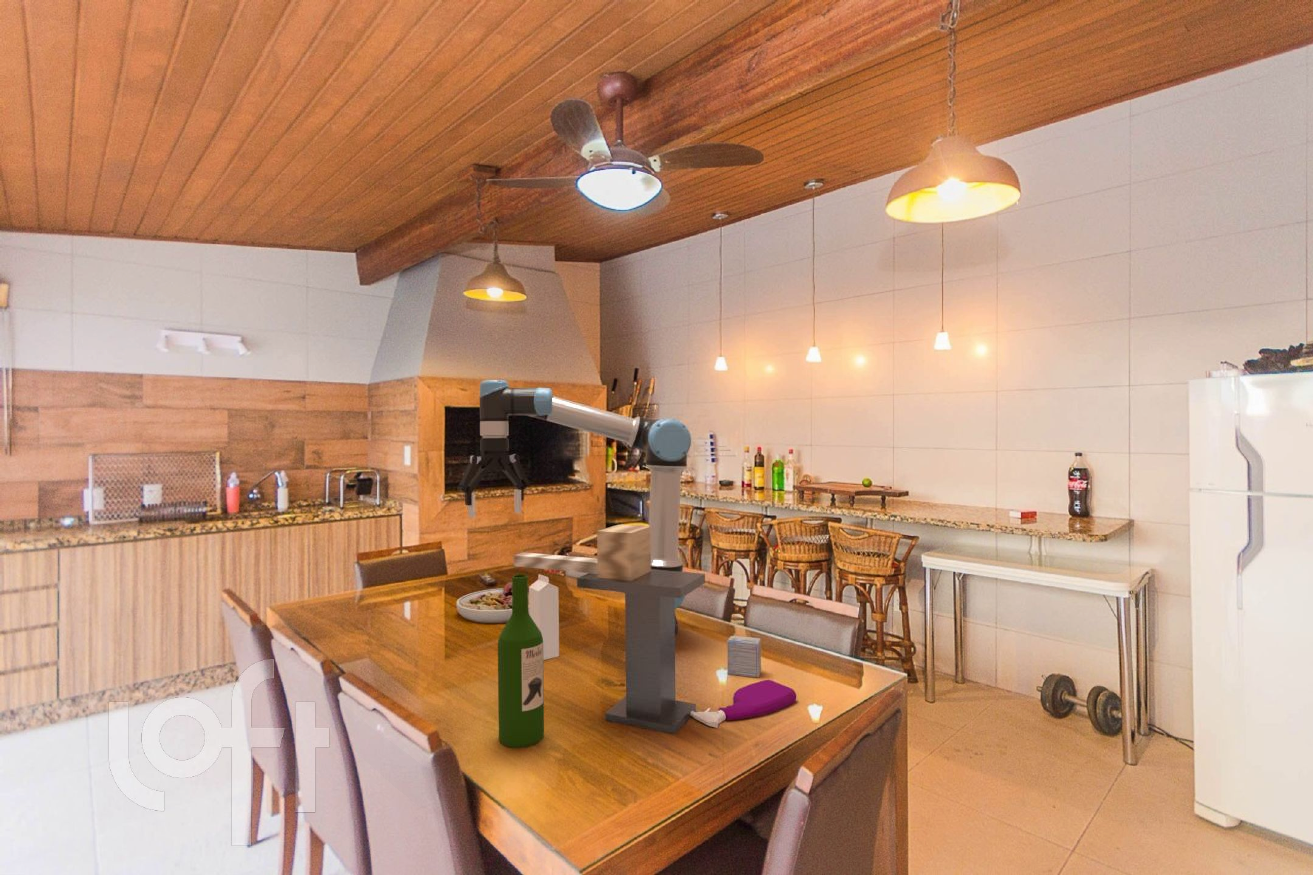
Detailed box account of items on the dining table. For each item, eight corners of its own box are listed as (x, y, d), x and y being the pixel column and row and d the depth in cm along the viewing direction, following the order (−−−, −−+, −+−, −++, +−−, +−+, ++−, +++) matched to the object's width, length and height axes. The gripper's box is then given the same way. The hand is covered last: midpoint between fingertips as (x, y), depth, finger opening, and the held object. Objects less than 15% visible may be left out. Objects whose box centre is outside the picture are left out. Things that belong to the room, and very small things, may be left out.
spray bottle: (800, 704, 146) (719, 737, 131) (765, 689, 155) (685, 718, 140) (800, 691, 146) (719, 723, 131) (765, 676, 155) (685, 705, 140)
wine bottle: (522, 752, 124) (520, 583, 124) (489, 740, 129) (487, 577, 129) (553, 733, 132) (551, 574, 132) (520, 723, 137) (519, 569, 136)
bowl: (538, 625, 206) (538, 601, 206) (444, 626, 206) (444, 602, 206) (553, 601, 236) (553, 579, 236) (471, 601, 236) (471, 580, 236)
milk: (539, 661, 173) (538, 579, 173) (529, 655, 178) (528, 575, 178) (559, 656, 177) (558, 576, 177) (549, 650, 182) (548, 572, 182)
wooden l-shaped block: (506, 568, 149) (505, 525, 149) (531, 560, 158) (531, 519, 158) (630, 580, 136) (630, 533, 136) (650, 571, 145) (650, 526, 145)
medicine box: (761, 672, 165) (761, 638, 164) (758, 678, 160) (758, 643, 160) (730, 668, 167) (730, 635, 167) (727, 674, 163) (726, 640, 163)
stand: (578, 717, 139) (576, 577, 139) (609, 693, 152) (608, 565, 152) (682, 738, 129) (680, 588, 129) (706, 710, 142) (704, 573, 142)
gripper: (528, 436, 187) (529, 509, 188) (444, 437, 171) (445, 518, 171) (541, 436, 182) (542, 512, 182) (456, 437, 165) (457, 521, 166)
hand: (495, 515), depth 177 cm, fingers open, 13 cm apart
